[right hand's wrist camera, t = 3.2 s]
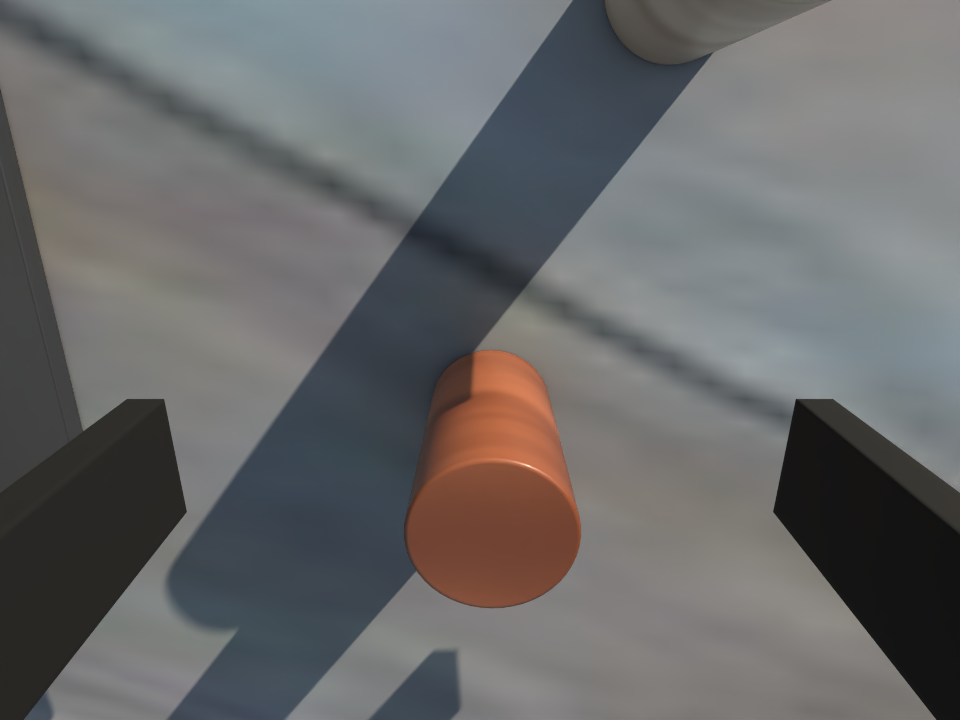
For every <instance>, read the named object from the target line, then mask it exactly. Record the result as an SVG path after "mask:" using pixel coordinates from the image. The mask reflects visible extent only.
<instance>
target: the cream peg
mask: <svg viewBox="0 0 960 720" xmlns="http://www.w3.org/2000/svg"><path fill="white" fill-rule="evenodd" d="M604 1H605V7H606V12H607V16H608V18H609V21H610V24H611V26H612V28H613V30H614V32H615V34H616V35H617V36H618V38H619V39H620V41H621V42H622V43H623V44H624V45H625V46H626V47H627V48H628V49H629V50H630V51H632V52H633V53H634V54H635V55H637V56H639V57H641V58H642V59H645V60H647V61H650V62H653V63H657V64H665V65H675V64H682V63H687V62H690V61H693V60H696V59H699V58H701V57H703V56H705V55H708V54H710V53H712V52H715V51H717V50H719V49H721V48H724V47H726V46H728V45H730V44H733V43H735V42H737V41H740V40H742V39H744V38H746V37H749V36H751V35H753V34H756V33H758V32H760V31H762V30H765V29H767V28H769V27H772V26H774V25H776V24H778V23H781V22H783V21H785V20H787V19H790V18H792V17H794V16H797V15H799V14H801V13H803V12H806V11H808V10H810V9H813V8H815V7H817V6H819V5H822V4H824V3H826V2H829V1H831V0H604Z"/></svg>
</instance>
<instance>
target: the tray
mask: <svg viewBox="0 0 960 720" xmlns="http://www.w3.org/2000/svg"><path fill="white" fill-rule="evenodd" d="M82 432H83V430H82V426H81V422H80V417H79V413H78V409H77V405H76V401H75V397H74V393H73V388H72V384H71V380H70V376H69V372H68V368H67V364H66V359H65V355H64V351H63V347H62V343H61V339H60V335H59V331H58V326H57V322H56V318H55V314H54V310H53V306H52V302H51V297H50V293H49V289H48V285H47V281H46V277H45V273H44V268H43V264H42V260H41V256H40V252H39V248H38V244H37V239H36V235H35V231H34V227H33V223H32V219H31V215H30V211H29V206H28V202H27V198H26V194H25V190H24V186H23V182H22V177H21V173H20V169H19V165H18V161H17V157H16V153H15V148H14V144H13V140H12V136H11V132H10V128H9V124H8V119H7V115H6V111H5V107H4V103H3V99H2V95H1V91H0V493H1V492H2V491H3V490H5V489H6V488H8V487H9V486H10V485H12V484H13V483H14V482H16V481H17V480H18V479H20V478H21V477H22V476H24V475H25V474H26V473H28V472H29V471H31V470H32V469H33V468H35V467H36V466H37V465H39V464H40V463H41V462H43V461H44V460H45V459H47V458H48V457H49V456H51V455H52V454H54V453H55V452H56V451H58V450H59V449H60V448H62V447H63V446H64V445H66V444H67V443H68V442H70V441H71V440H73V439H74V438H75V437H77V436H78V435H79V434H81V433H82Z"/></svg>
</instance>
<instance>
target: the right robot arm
mask: <svg viewBox="0 0 960 720" xmlns="http://www.w3.org/2000/svg"><path fill="white" fill-rule="evenodd" d="M186 512H187V511H186V506H185V501H184V496H183V491H182V486H181V481H180V476H179V471H178V466H177V461H176V456H175V451H174V446H173V441H172V436H171V431H170V426H169V422H168V417H167V412H166V407H165V402H164V399H127V400H125V401H124V402H123V403H121V404H120V405H119V406H117V407H116V408H114V409H113V410H112V411H110V412H109V413H108V414H106V415H105V416H104V417H102V418H101V419H100V420H98V421H97V422H96V423H94V424H93V425H91V426H90V427H89V428H87V429H86V430H85V431H83V432H82V433H81V434H79V435H78V436H77V437H75V438H74V439H73V440H71V441H70V442H68V443H67V444H66V445H64V446H63V447H62V448H60V449H59V450H58V451H56V452H55V453H54V454H52V455H51V456H49V457H48V458H47V459H45V460H44V461H43V462H41V463H40V464H39V465H37V466H36V467H35V468H33V469H32V470H31V471H29V472H28V473H26V474H25V475H24V476H22V477H21V478H20V479H18V480H17V481H16V482H14V483H13V484H12V485H10V486H9V487H8V488H6V489H5V490H3V491H2V492H1V493H0V720H24V718H25V717H26V716H27V715H28V713H29V712H30V711H31V709H32V708H33V707H34V706H35V704H36V703H37V702H38V701H39V699H40V698H41V697H42V695H43V694H44V693H45V692H46V690H47V689H48V688H49V687H50V685H51V684H52V683H53V681H54V680H55V679H56V678H57V676H58V675H59V674H60V673H61V671H62V670H63V669H64V667H65V666H66V665H67V664H68V662H69V661H70V660H71V659H72V657H73V656H74V655H75V653H76V652H77V651H78V650H79V648H80V647H81V646H82V645H83V643H84V642H85V641H86V639H87V638H88V637H89V636H90V634H91V633H92V632H93V631H94V629H95V628H96V627H97V625H98V624H99V623H100V622H101V620H102V619H103V618H104V617H105V615H106V614H107V613H108V611H109V610H110V609H111V608H112V606H113V605H114V604H115V603H116V601H117V600H118V599H119V597H120V596H121V595H122V594H123V592H124V591H125V590H126V589H127V587H128V586H129V585H130V583H131V582H132V581H133V580H134V578H135V577H136V576H137V575H138V573H139V572H140V571H141V569H142V568H143V567H144V566H145V564H146V563H147V562H148V561H149V559H150V558H151V557H152V555H153V554H154V553H155V552H156V550H157V549H158V548H159V547H160V545H161V544H162V543H163V541H164V540H165V539H166V538H167V536H168V535H169V534H170V532H171V531H172V530H173V529H174V527H175V526H176V525H177V524H178V522H179V521H180V520H181V518H182V517H183V516H184V515H185V513H186ZM773 512H774V513H775V515H776V516H777V517H778V518H779V520H780V521H781V522H782V524H783V525H784V526H785V527H786V529H787V530H788V531H789V533H790V534H791V535H792V536H793V538H794V539H795V540H796V541H797V543H798V544H799V545H800V547H801V548H802V549H803V550H804V552H805V553H806V554H807V555H808V557H809V558H810V559H811V561H812V562H813V563H814V564H815V566H816V567H817V568H818V569H819V571H820V572H821V573H822V575H823V576H824V577H825V578H826V580H827V581H828V582H829V583H830V585H831V586H832V587H833V589H834V590H835V591H836V592H837V594H838V595H839V596H840V597H841V599H842V600H843V601H844V603H845V604H846V605H847V606H848V608H849V609H850V610H851V611H852V613H853V614H854V615H855V617H856V618H857V619H858V620H859V622H860V623H861V624H862V625H863V627H864V628H865V629H866V631H867V632H868V633H869V634H870V636H871V637H872V638H873V639H874V641H875V642H876V643H877V645H878V646H879V647H880V648H881V650H882V651H883V652H884V653H885V655H886V656H887V657H888V659H889V660H890V661H891V662H892V664H893V665H894V666H895V667H896V669H897V670H898V671H899V673H900V674H901V675H902V676H903V678H904V679H905V680H906V681H907V683H908V684H909V685H910V687H911V688H912V689H913V690H914V692H915V693H916V694H917V695H918V697H919V698H920V699H921V701H922V702H923V703H924V704H925V706H926V707H927V708H928V709H929V711H930V712H931V713H932V715H933V716H934V717H935V718H936V720H960V493H959V492H958V491H957V490H955V489H954V488H952V487H951V486H950V485H948V484H947V483H946V482H944V481H943V480H942V479H940V478H939V477H938V476H936V475H935V474H934V473H932V472H931V471H929V470H928V469H927V468H925V467H924V466H923V465H921V464H920V463H919V462H917V461H916V460H915V459H913V458H912V457H910V456H909V455H908V454H906V453H905V452H904V451H902V450H901V449H900V448H898V447H897V446H896V445H894V444H893V443H892V442H890V441H889V440H887V439H886V438H885V437H883V436H882V435H881V434H879V433H878V432H877V431H875V430H874V429H873V428H871V427H870V426H869V425H867V424H866V423H864V422H863V421H862V420H860V419H859V418H858V417H856V416H855V415H854V414H852V413H851V412H850V411H848V410H847V409H846V408H844V407H843V406H841V405H840V404H839V403H837V402H836V401H835V400H833V399H796V402H795V407H794V412H793V417H792V422H791V426H790V431H789V436H788V441H787V446H786V451H785V456H784V461H783V466H782V471H781V476H780V481H779V486H778V491H777V496H776V501H775V506H774V511H773Z"/></svg>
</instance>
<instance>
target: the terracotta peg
mask: <svg viewBox="0 0 960 720" xmlns="http://www.w3.org/2000/svg"><path fill="white" fill-rule="evenodd" d="M404 538H405V545H406V549H407V552H408V555H409V557H410V560H411V562H412V564H413V566H414V567H415V569H416V570H417V572H418V573H419V575H420V576H421V577H422V578H423V579H424V581H425V582H427V583H428V584H429V585H430V586H431V587H432V588H433V589H435V590H436V591H438V592H439V593H440V594H442V595H444V596H446V597H448V598H449V599H452V600H454V601H457V602H459V603H462V604H466V605H470V606H475V607H481V608H504V607H510V606H516V605H519V604H523V603H526V602H529V601H531V600H534V599H536V598H538V597H540V596H541V595H543V594H545V593H546V592H548V591H549V590H551V589H552V588H553V587H554V586H555V585H557V584H558V583H559V582H560V581H561V580H562V579H563V577H564V576H565V575H566V574H567V572H568V571H569V569H570V568H571V566H572V564H573V562H574V560H575V558H576V556H577V553H578V550H579V546H580V540H581V524H580V518H579V513H578V509H577V505H576V501H575V497H574V494H573V490H572V486H571V482H570V478H569V474H568V470H567V466H566V462H565V458H564V454H563V450H562V446H561V442H560V438H559V434H558V430H557V427H556V423H555V419H554V415H553V411H552V407H551V403H550V399H549V395H548V391H547V388H546V385H545V383H544V381H543V379H542V377H541V376H540V375H539V373H538V372H537V371H536V370H535V369H534V367H533V366H531V365H530V364H529V363H528V362H526V361H525V360H523V359H522V358H520V357H518V356H516V355H513V354H510V353H507V352H503V351H495V350H486V351H479V352H474V353H471V354H468V355H466V356H463V357H461V358H460V359H458V360H456V361H455V362H453V363H452V364H451V365H450V366H449V367H448V368H447V369H446V370H445V371H444V372H443V373H442V375H441V376H440V378H439V379H438V381H437V383H436V386H435V389H434V392H433V396H432V401H431V405H430V410H429V414H428V419H427V423H426V428H425V432H424V437H423V441H422V446H421V450H420V455H419V459H418V464H417V468H416V473H415V477H414V482H413V487H412V491H411V496H410V500H409V505H408V509H407V514H406V519H405V524H404Z"/></svg>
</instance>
